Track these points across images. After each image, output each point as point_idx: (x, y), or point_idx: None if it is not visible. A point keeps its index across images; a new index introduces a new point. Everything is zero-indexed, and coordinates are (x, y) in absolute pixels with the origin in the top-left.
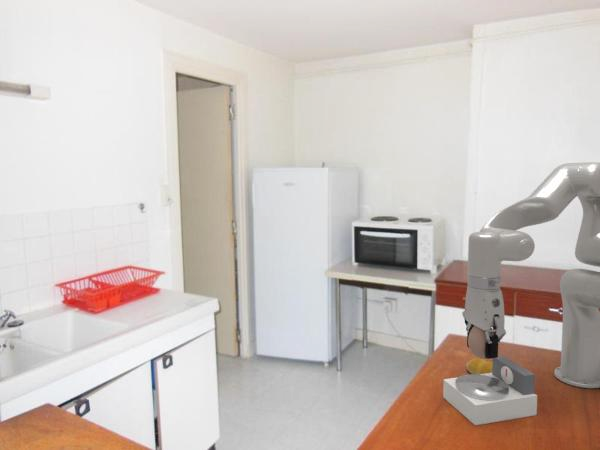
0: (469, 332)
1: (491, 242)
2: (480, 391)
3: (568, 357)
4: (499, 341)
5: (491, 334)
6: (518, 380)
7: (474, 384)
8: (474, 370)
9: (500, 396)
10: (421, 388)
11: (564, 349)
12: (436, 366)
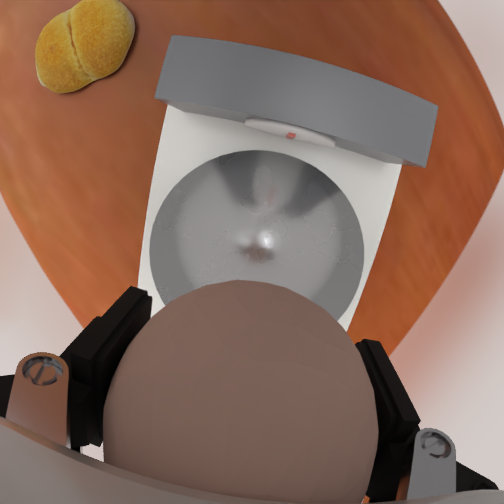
0: (93, 437)
1: None
2: None
3: None
4: (448, 445)
5: (365, 493)
6: (372, 153)
7: None
8: (77, 84)
9: (361, 275)
10: (91, 304)
11: None
12: (5, 163)
